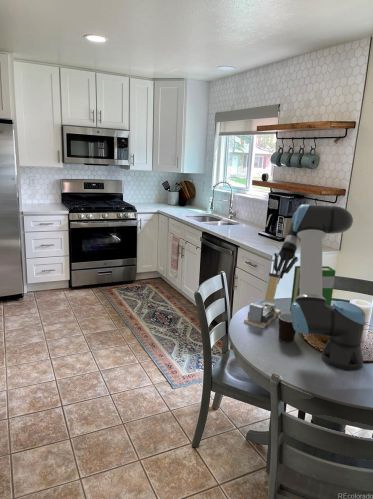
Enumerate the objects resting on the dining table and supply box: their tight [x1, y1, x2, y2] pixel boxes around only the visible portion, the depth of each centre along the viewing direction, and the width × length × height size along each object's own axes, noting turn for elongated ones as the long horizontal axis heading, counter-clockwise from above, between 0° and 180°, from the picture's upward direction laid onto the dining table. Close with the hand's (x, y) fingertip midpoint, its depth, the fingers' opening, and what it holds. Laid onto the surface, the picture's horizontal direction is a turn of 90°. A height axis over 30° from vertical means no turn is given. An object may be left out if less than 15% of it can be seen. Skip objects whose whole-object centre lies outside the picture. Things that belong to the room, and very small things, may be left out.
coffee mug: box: [277, 313, 297, 343], centre depth 168 cm, size 12×9×10 cm
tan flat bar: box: [264, 272, 280, 303], centre depth 193 cm, size 2×5×14 cm, turn 57°
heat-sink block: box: [247, 301, 277, 324], centre depth 186 cm, size 19×9×8 cm, turn 147°
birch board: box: [243, 308, 282, 329], centre depth 188 cm, size 22×10×2 cm, turn 147°
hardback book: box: [289, 265, 336, 312], centre depth 193 cm, size 18×7×24 cm, turn 95°
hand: (276, 282), depth 197 cm, fingers closed
